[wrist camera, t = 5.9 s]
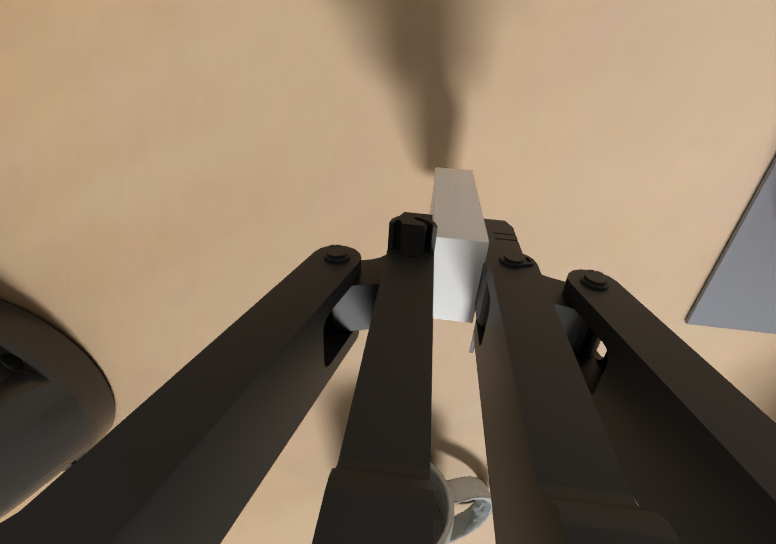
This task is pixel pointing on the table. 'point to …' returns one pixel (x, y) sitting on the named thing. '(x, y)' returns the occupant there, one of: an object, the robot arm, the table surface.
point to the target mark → (745, 271)
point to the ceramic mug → (454, 493)
